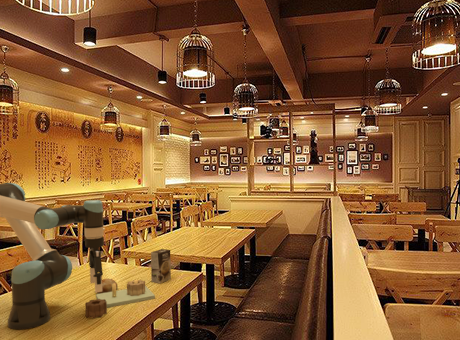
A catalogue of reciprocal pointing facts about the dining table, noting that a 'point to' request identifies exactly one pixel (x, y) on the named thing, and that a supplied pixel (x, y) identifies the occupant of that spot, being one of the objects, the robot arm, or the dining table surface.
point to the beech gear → (136, 288)
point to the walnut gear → (96, 308)
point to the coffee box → (160, 266)
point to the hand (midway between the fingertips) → (96, 287)
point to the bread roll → (107, 285)
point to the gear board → (124, 296)
